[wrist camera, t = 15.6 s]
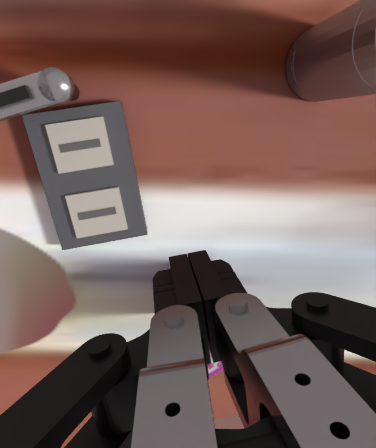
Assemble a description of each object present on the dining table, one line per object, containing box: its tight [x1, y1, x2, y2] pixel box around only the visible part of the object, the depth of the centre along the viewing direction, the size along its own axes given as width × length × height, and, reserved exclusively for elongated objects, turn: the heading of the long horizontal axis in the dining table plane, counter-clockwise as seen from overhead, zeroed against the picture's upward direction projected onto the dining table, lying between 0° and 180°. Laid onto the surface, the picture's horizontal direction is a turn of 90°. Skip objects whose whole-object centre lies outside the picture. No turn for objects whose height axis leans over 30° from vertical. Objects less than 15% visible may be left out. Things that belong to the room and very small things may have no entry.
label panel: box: [22, 101, 147, 250], centre depth 41 cm, size 12×18×3 cm, turn 8°
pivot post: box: [70, 85, 79, 101], centre depth 36 cm, size 2×2×6 cm
